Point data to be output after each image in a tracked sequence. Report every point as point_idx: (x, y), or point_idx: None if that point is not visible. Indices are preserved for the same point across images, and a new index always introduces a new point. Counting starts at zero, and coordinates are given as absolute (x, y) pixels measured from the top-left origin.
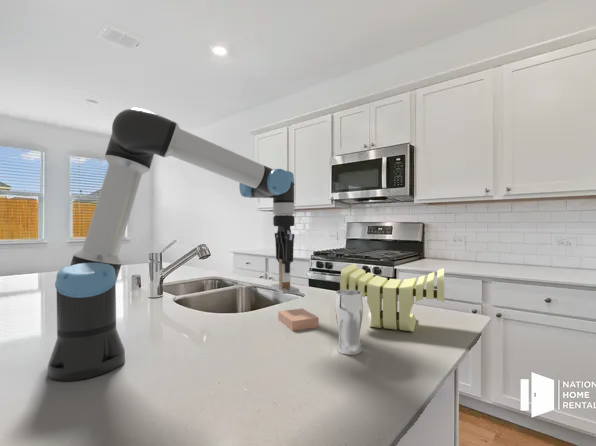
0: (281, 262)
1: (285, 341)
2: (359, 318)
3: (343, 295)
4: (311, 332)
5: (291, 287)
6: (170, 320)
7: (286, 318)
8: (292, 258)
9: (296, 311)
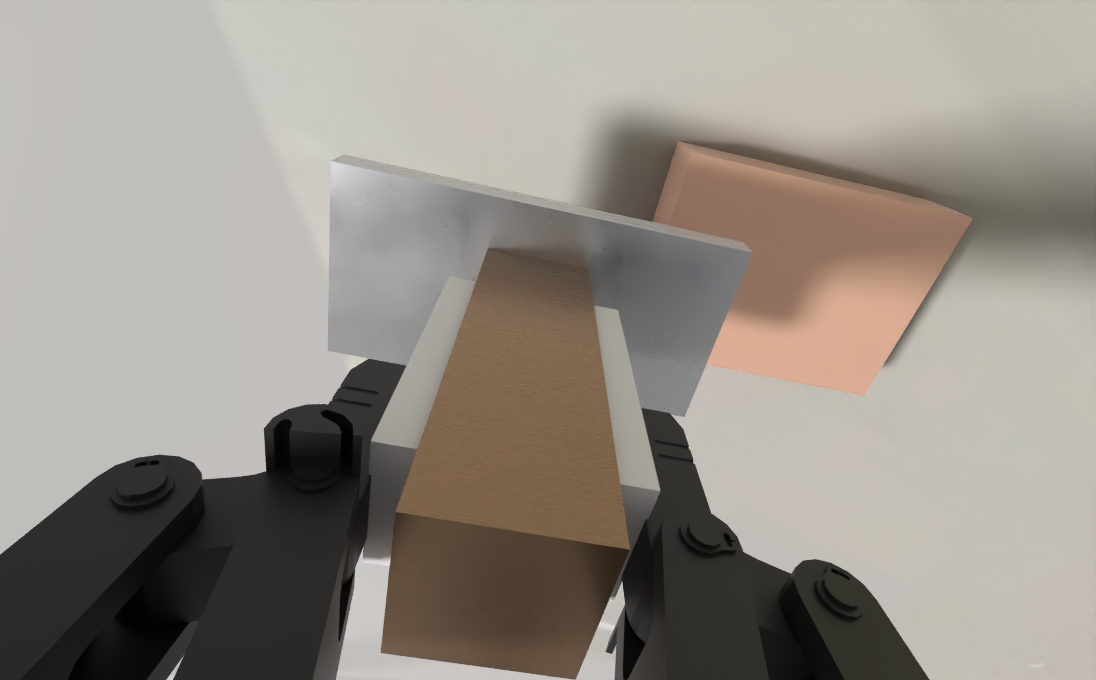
0: (610, 648)
1: (909, 458)
2: None
3: None
4: (949, 300)
5: (606, 262)
6: None
7: (774, 374)
8: (899, 664)
9: None
